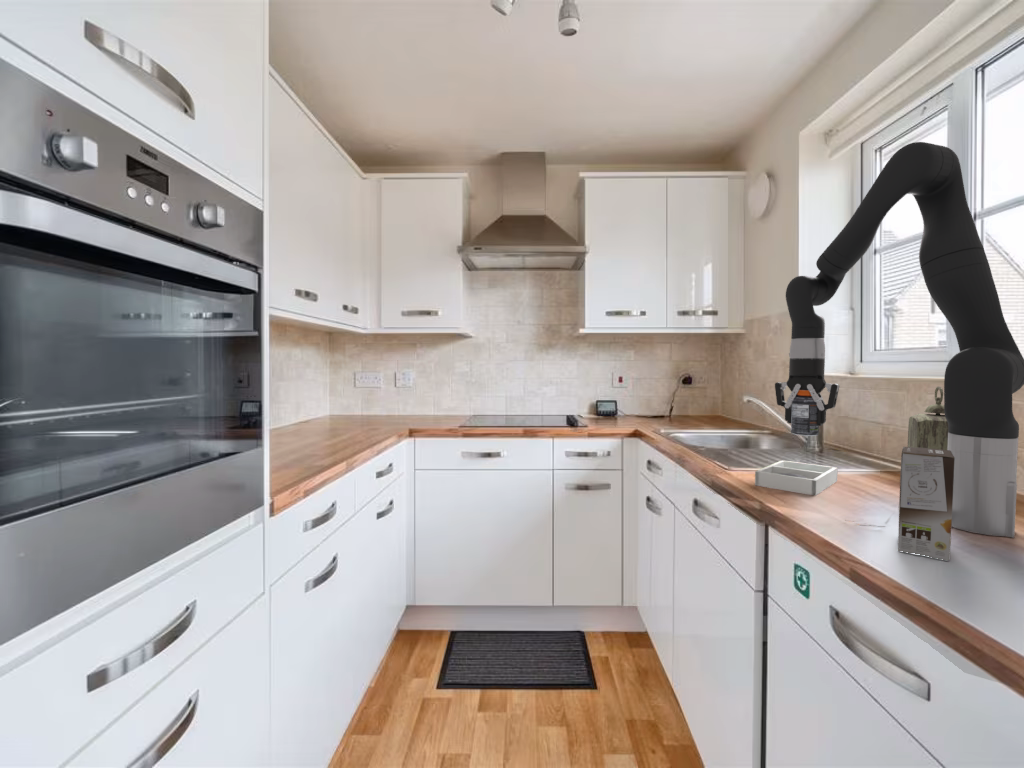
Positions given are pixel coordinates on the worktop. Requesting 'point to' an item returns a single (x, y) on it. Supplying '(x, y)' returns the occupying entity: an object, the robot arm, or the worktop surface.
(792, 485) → the tray
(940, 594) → the worktop surface
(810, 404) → the pill bottle
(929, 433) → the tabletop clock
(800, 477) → the cord coil
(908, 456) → the coffee box
